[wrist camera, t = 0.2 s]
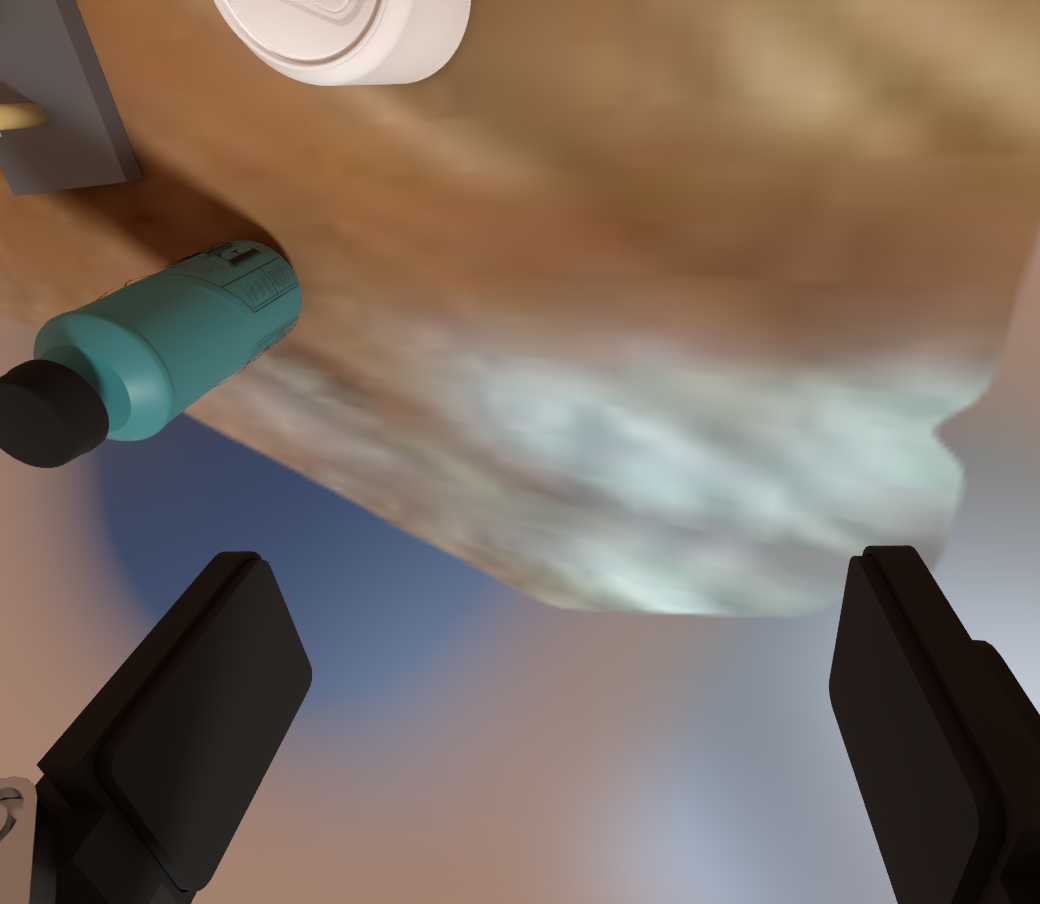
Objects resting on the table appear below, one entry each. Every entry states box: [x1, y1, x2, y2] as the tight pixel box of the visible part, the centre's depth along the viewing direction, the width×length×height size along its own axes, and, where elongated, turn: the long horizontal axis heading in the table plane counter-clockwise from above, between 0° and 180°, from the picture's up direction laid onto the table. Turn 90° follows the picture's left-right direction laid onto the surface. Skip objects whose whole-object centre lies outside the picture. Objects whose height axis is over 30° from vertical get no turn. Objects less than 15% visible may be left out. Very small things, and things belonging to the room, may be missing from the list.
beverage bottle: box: [0, 239, 301, 468], centre depth 33 cm, size 6×7×20 cm
